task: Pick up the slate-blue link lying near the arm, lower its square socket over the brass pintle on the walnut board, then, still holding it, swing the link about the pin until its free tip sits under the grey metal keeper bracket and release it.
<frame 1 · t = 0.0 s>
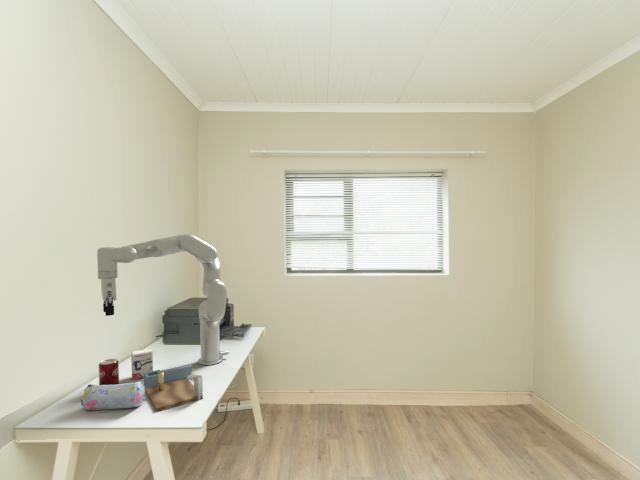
hand: (108, 313, 157), 31 cm above the table, fingers open, 9 cm apart
keeper: (194, 387, 141), resting on board
pintle: (161, 393, 146), resting on board
link: (190, 376, 164), on the table
board: (173, 394, 144), on the table
pencil case: (114, 408, 135), on the table
soda can: (109, 389, 151), on the table
ink box: (142, 376, 165), on the table
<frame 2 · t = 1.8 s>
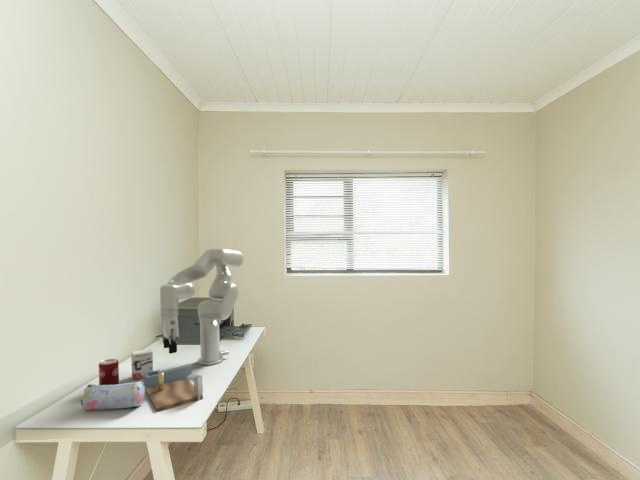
hand: (170, 350, 159), 14 cm above the table, fingers open, 9 cm apart
nothing on the table moved.
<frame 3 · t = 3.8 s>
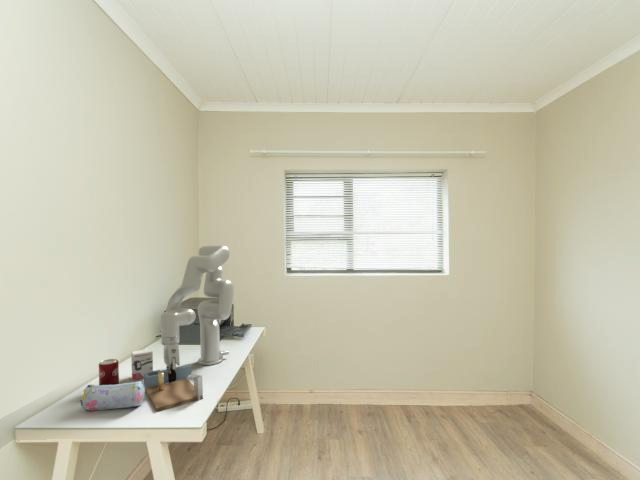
hand: (171, 379, 159), 0 cm above the table, fingers closed on link, 3 cm apart
link: (190, 376, 164), on the table, touching gripper
everything else where it was.
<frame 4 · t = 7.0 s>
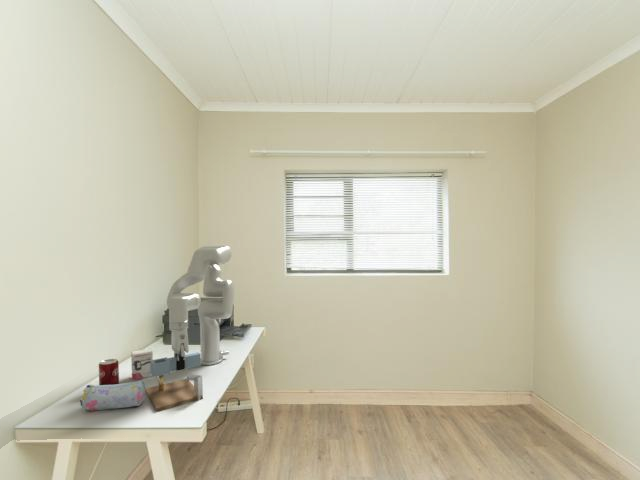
hand: (179, 368, 150), 9 cm above the table, fingers closed on link, 3 cm apart
link: (199, 364, 155), point 8 cm above the table, touching gripper
everything else where it was.
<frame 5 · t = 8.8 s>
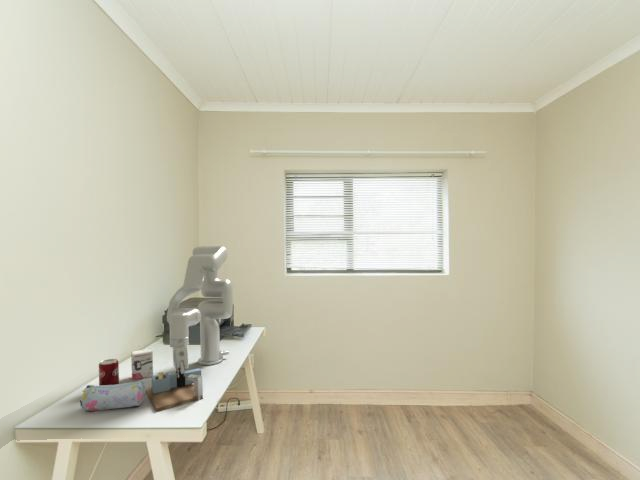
hand: (180, 384, 150), 2 cm above the table, fingers closed on link, 3 cm apart
link: (200, 380, 155), point 2 cm above the table, touching gripper
everything else where it was.
when the fingers open (2 cm above the table, at t = 10.5 s): link stays where it is, resting on board.
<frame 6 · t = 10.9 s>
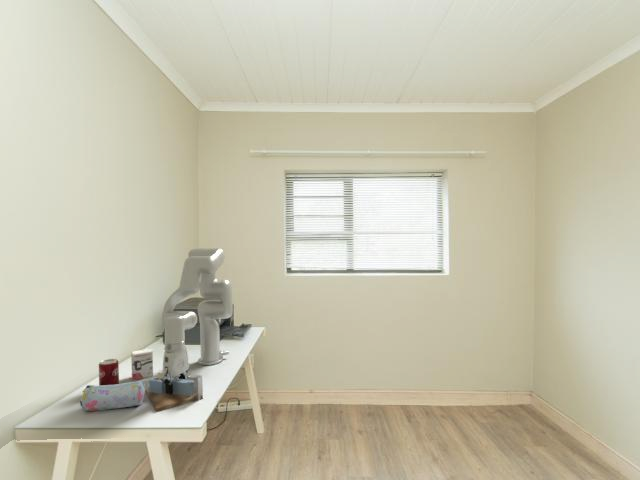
hand: (175, 389, 144), 2 cm above the table, fingers open, 6 cm apart
link: (193, 394, 141), point 1 cm above the table, touching board
everything else where it was.
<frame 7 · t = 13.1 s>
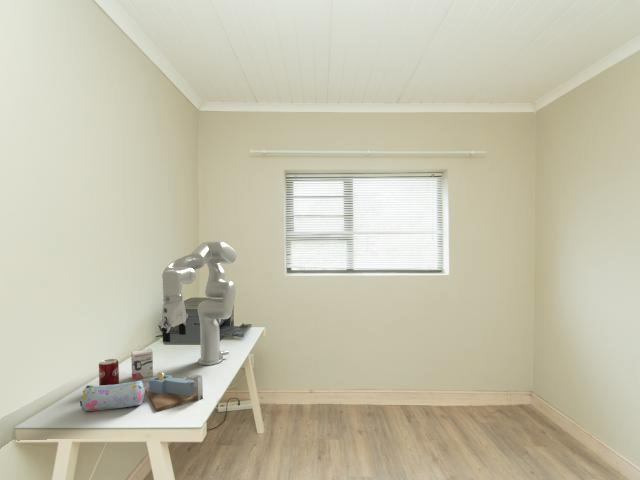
hand: (174, 337, 152), 21 cm above the table, fingers open, 9 cm apart
nothing on the table moved.
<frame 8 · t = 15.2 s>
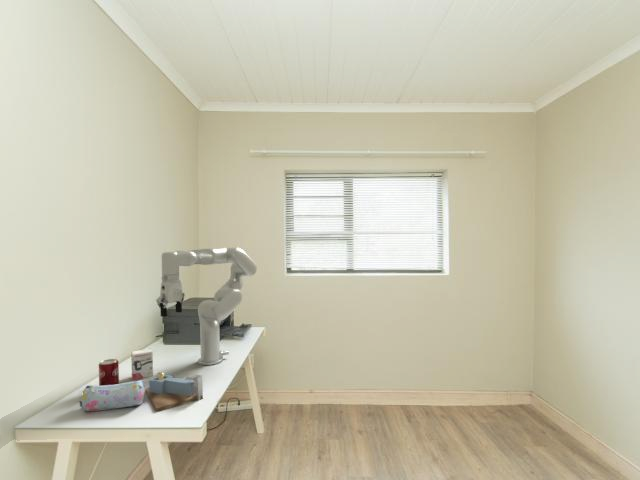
hand: (171, 314, 167), 28 cm above the table, fingers open, 9 cm apart
nothing on the table moved.
at the end: link 0.3 cm from the target spot, point 1.2 cm above the table; link 16.0 cm from the pintle (horizontally); the gripper is holding nothing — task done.
